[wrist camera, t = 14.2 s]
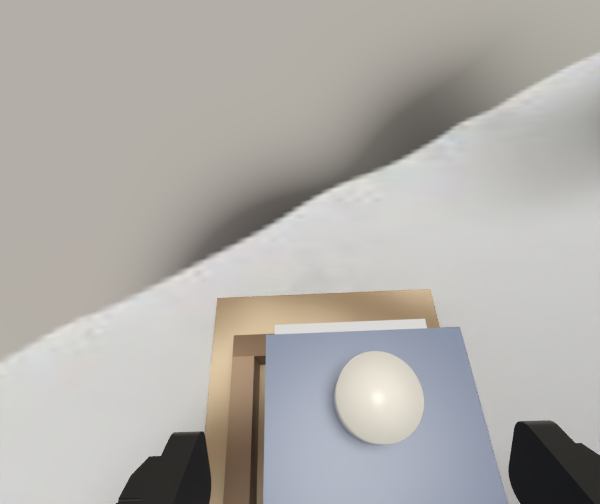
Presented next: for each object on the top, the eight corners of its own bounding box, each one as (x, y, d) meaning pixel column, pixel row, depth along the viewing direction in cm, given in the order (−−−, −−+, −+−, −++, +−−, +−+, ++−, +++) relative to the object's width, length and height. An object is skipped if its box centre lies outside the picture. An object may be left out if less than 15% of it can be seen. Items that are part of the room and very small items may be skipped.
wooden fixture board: (519, 713, 12) (581, 792, 9) (186, 724, 12) (150, 805, 10) (424, 297, 20) (442, 273, 17) (222, 305, 20) (207, 283, 17)
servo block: (409, 579, 13) (669, 936, 4) (293, 582, 13) (244, 948, 4) (379, 369, 17) (466, 272, 7) (289, 373, 17) (261, 281, 7)
